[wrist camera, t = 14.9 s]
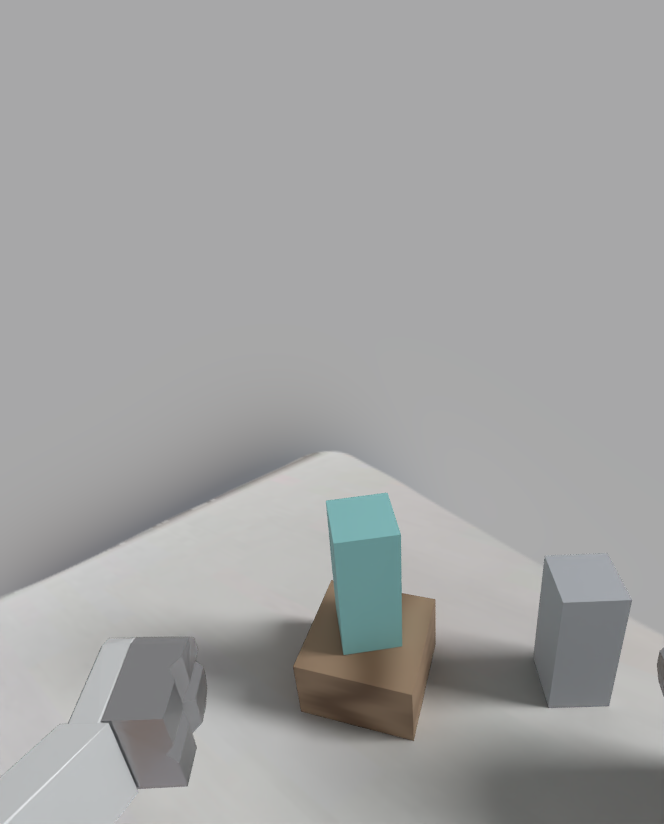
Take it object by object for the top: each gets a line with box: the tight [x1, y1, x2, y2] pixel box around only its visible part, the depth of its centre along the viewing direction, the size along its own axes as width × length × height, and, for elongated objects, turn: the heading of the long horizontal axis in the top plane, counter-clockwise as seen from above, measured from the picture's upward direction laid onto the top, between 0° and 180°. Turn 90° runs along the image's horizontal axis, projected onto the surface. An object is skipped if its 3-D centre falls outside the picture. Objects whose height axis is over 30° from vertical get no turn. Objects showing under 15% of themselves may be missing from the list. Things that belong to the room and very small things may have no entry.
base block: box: [293, 580, 436, 741], centre depth 44 cm, size 8×8×5 cm
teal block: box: [326, 493, 402, 655], centre depth 40 cm, size 4×4×10 cm
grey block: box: [533, 553, 632, 708], centre depth 40 cm, size 4×4×10 cm
